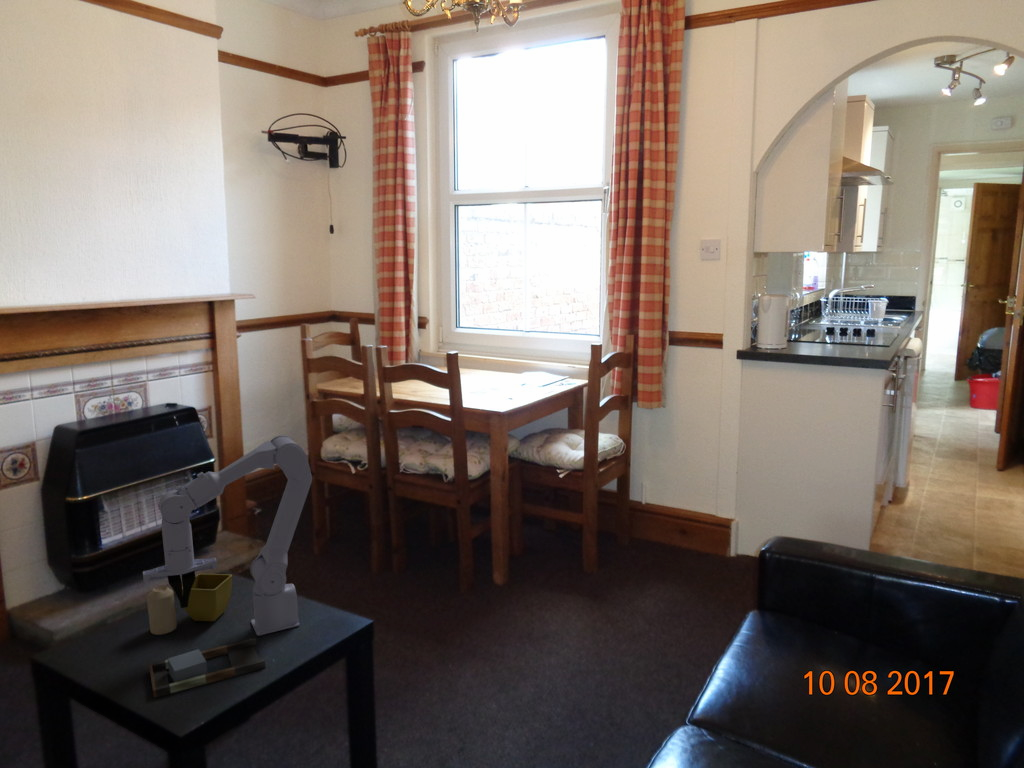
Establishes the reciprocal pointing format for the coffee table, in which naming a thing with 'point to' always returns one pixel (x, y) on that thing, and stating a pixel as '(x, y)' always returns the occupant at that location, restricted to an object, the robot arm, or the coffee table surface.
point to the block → (187, 666)
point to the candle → (161, 610)
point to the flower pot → (209, 596)
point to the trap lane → (241, 662)
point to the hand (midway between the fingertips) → (184, 605)
